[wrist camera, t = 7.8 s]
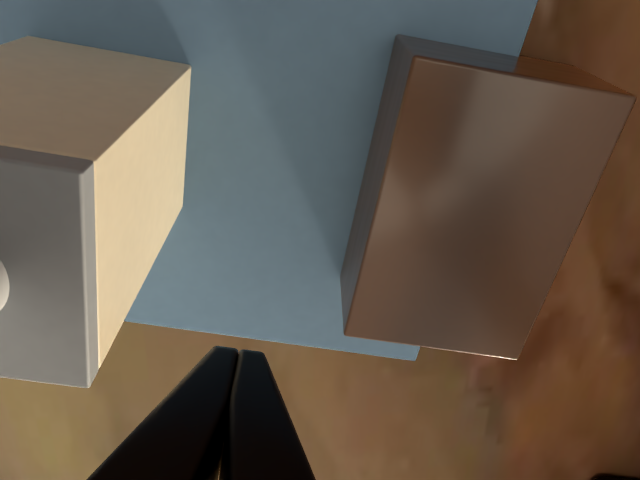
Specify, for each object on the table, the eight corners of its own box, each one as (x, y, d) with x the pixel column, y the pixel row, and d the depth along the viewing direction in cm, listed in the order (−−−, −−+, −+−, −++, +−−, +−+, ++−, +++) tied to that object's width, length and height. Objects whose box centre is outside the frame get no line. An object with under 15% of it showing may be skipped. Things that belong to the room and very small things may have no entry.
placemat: (555, -71, 16) (563, -71, 15) (413, 353, 23) (415, 361, 23) (-101, -210, 14) (-114, -215, 14) (-24, 293, 22) (-31, 300, 21)
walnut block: (575, 65, 18) (639, 96, 14) (486, 293, 22) (517, 361, 18) (393, 30, 17) (413, 54, 14) (338, 271, 21) (342, 337, 18)
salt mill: (409, 241, 9) (-698, 399, 4) (348, 447, 11) (-386, 717, 6) (167, 45, 19) (-237, 15, 14) (162, 178, 21) (-185, 196, 16)
